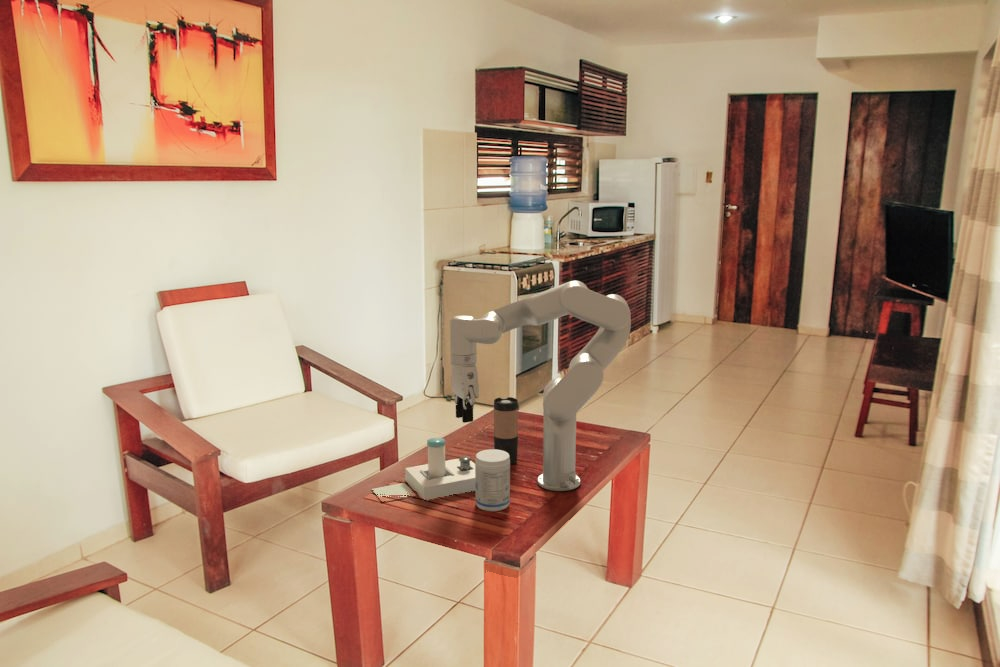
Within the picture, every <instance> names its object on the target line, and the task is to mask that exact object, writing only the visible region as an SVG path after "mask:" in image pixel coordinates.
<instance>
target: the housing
mask: <svg viewBox="0 0 1000 667" xmlns="http://www.w3.org/2000/svg"><path fill="white" fill-rule="evenodd" d="M459 458H460V457H459ZM459 458H454V459H449V460H445V474H446V476H445V477H440V478H434V479H431V478H430V477H429V476H428V463H426V464H419V465H415V466H409V467H405V468H404V478H405V480H406V481H407V482H408V483H407V482H406V481H405V482H406V483H407V484H408V485H409V486H410V488H412V489H413V491H414V492H415V491H416V492H417V493H418V494H419V495H420V496H421V497H422V498H423V499H424V500H425V499H431V498H437V497H442V496H447V497H450V496H449V495H452V496H454V495H453V494H457V495H460V494H459V493H462V494H466V493H465V492H467V493H471V491H472V492H476V488H475V462H473V461H472V460H471V461H470V470H467V471H461V470H460V461H459ZM416 492H415V493H416ZM417 493H416V494H417ZM418 494H417V495H418ZM419 495H418V496H419ZM420 496H419V497H420ZM421 497H420V498H421ZM422 498H421V499H422ZM442 498H443V497H442ZM423 499H422V500H423ZM437 499H438V498H437ZM424 500H423V501H424Z"/></svg>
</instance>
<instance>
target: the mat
mask: <svg viewBox="0 0 1000 667" xmlns="http://www.w3.org/2000/svg"><path fill="white" fill-rule="evenodd" d="M372 490H374V491H372ZM371 491H372V492H373V494H374V493H375V494H376V495H377V494H378V495H377V496H379V497H380V496H381V497H382V496H386V497H387V496H388V497H389V495H403V496H400V497H407V495H409V494H410V493H411V492H413V490H412V489H411V487H409V486H408V485H407V484H406V483H405V482H401V483H396V484H391V485H385V486H380V487H375V488H371ZM409 491H410V492H409ZM407 493H408V494H407ZM413 493H414V492H413ZM413 493H411V494H413ZM375 494H374V495H375ZM380 494H381V495H380ZM382 494H383V495H382ZM384 494H385V495H384ZM376 495H375V496H376ZM404 495H406V496H404ZM377 496H376V497H377ZM409 496H410V495H409ZM390 497H391V496H390ZM398 497H399V496H398Z"/></svg>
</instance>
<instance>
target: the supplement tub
mask: <svg viewBox="0 0 1000 667" xmlns="http://www.w3.org/2000/svg"><path fill="white" fill-rule="evenodd" d="M474 461H475V462H474V463H475V488H476V491H475V505H476V507H478V509H480V510H482V511H486V512H500V511H502V510H505V509H507V508H508V507H509V505H510V503H511V464H510V456H509V454H508V453H507V452H505V451H502V450H497V449H493V448H492V449H483V450H481V451H478V452H477V453H476V454H475V459H474Z"/></svg>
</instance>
